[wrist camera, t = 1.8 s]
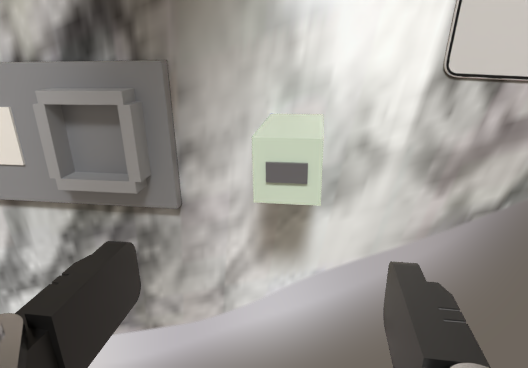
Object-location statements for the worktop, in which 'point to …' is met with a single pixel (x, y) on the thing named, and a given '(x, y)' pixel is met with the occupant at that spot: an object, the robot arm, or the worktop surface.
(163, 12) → the worktop surface
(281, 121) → the block
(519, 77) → the smartphone
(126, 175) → the power strip
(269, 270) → the worktop surface
